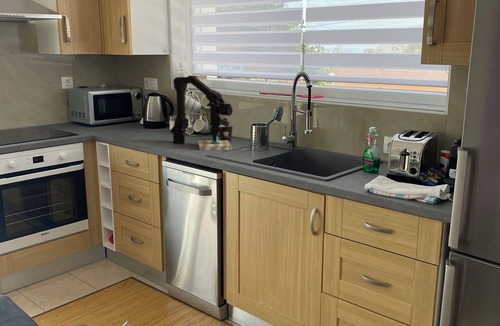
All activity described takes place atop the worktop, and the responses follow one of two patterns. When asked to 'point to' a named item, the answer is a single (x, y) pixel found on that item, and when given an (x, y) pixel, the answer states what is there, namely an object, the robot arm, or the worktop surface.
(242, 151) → the worktop surface
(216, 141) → the peg
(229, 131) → the coffee mug
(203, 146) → the keyhole board
